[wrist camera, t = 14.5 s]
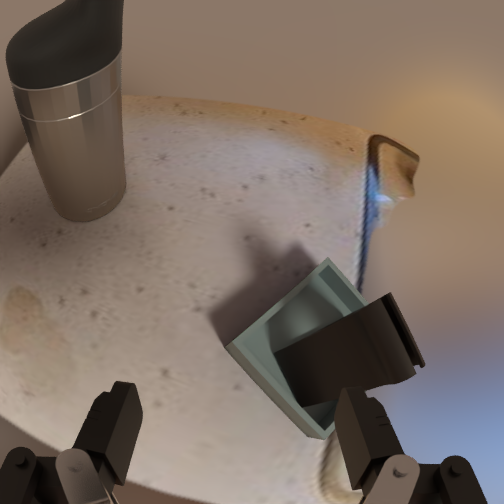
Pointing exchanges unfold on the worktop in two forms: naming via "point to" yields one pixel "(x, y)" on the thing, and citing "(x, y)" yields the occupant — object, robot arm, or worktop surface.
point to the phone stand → (352, 354)
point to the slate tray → (290, 331)
